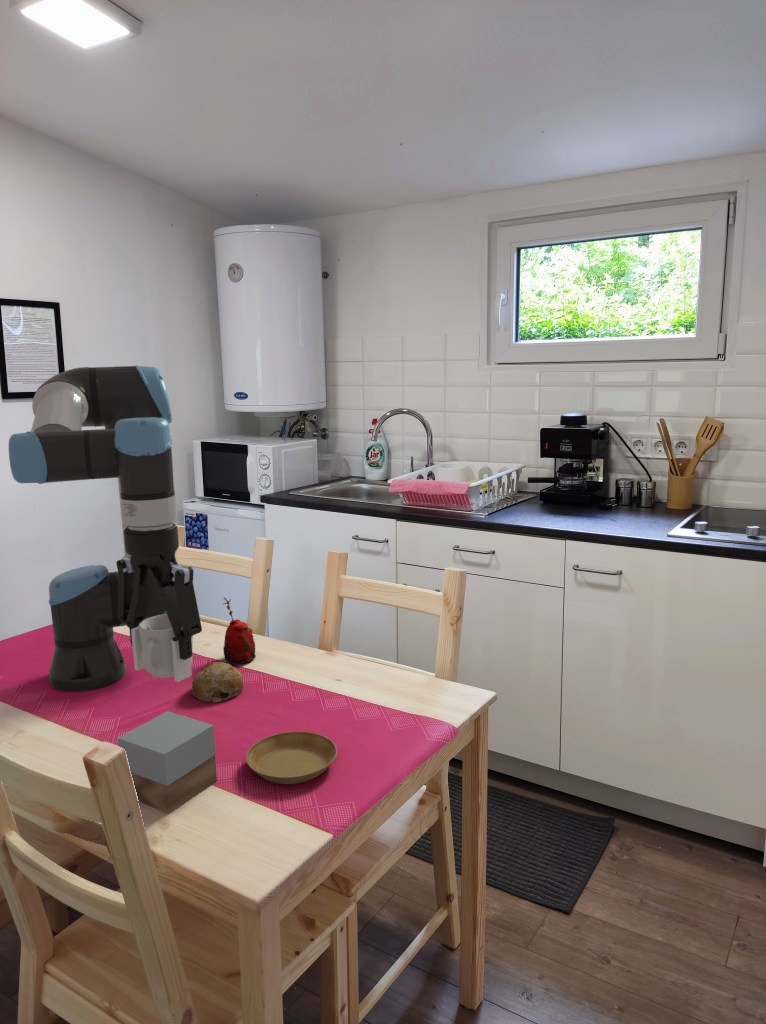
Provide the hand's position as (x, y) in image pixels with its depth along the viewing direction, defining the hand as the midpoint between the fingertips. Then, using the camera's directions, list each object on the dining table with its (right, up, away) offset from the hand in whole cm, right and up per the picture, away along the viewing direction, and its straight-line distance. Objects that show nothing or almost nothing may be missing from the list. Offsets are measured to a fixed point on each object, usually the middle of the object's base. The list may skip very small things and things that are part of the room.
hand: (162, 672), depth 112 cm
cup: (0, -1, 0) cm, 1 cm away
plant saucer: (+18, -18, +9) cm, 27 cm away
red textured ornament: (+1, -9, +54) cm, 55 cm away
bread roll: (0, -12, +38) cm, 40 cm away
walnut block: (0, -19, +3) cm, 19 cm away
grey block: (0, -14, +2) cm, 14 cm away
